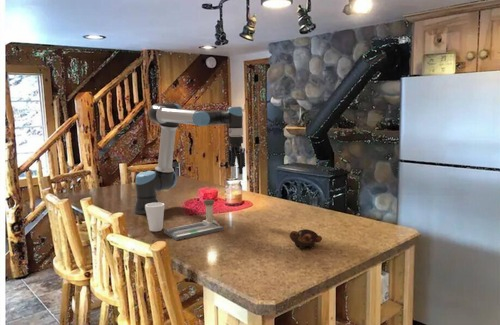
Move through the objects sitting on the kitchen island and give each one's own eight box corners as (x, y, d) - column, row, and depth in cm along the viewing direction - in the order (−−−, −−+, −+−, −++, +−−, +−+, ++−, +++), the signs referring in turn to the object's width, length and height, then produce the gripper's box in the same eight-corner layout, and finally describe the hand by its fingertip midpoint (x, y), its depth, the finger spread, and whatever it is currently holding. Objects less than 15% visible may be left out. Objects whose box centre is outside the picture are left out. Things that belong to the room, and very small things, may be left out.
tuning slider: (202, 224, 209) (201, 200, 208) (211, 222, 212) (210, 198, 210) (213, 229, 200) (212, 204, 199) (222, 227, 203) (221, 202, 202)
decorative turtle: (284, 246, 180) (285, 228, 180) (313, 243, 186) (314, 226, 186) (295, 252, 171) (296, 233, 171) (325, 249, 178) (326, 230, 177)
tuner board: (164, 233, 202) (163, 227, 201) (210, 223, 217) (209, 218, 216) (176, 240, 190) (175, 234, 190) (223, 229, 205) (223, 224, 205)
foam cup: (146, 233, 202) (145, 207, 200) (146, 227, 211) (144, 203, 209) (166, 231, 205) (164, 206, 203) (164, 226, 213) (163, 201, 212)
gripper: (220, 135, 221) (221, 177, 224) (239, 137, 206) (240, 182, 209) (232, 134, 225) (233, 176, 228) (251, 136, 210) (252, 180, 213)
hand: (236, 179), depth 219 cm, fingers open, 6 cm apart
